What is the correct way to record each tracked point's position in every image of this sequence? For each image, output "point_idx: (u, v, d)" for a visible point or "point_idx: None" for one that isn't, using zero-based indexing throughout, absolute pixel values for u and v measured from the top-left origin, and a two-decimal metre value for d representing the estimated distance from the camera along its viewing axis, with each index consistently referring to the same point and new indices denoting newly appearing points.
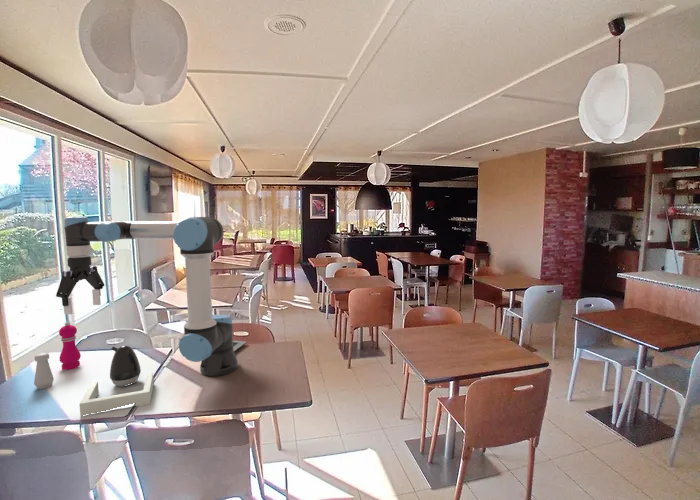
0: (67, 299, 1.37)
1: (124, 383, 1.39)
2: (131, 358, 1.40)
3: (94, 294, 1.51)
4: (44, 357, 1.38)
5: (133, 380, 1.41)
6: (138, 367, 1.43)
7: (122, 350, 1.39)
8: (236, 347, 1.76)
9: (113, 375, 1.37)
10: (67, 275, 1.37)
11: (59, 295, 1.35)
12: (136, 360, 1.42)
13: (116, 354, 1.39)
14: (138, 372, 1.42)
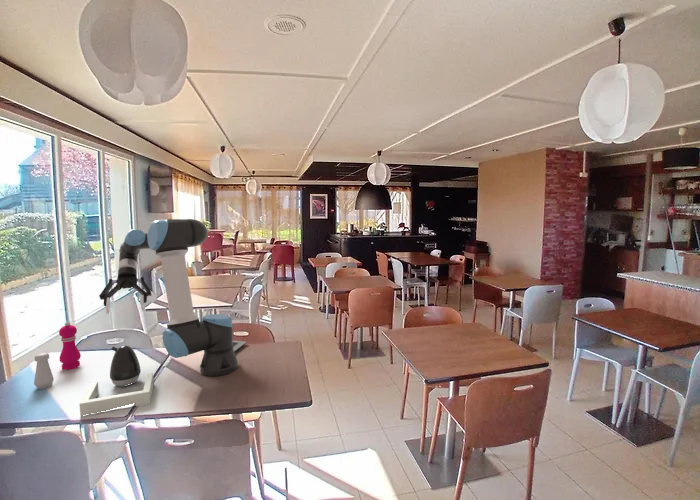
0: (106, 299, 1.59)
1: (124, 383, 1.39)
2: (131, 358, 1.40)
3: None
4: (44, 357, 1.38)
5: (133, 380, 1.41)
6: (138, 367, 1.43)
7: (122, 350, 1.39)
8: (236, 347, 1.76)
9: (113, 375, 1.37)
10: (109, 282, 1.64)
11: None
12: (136, 360, 1.42)
13: (116, 354, 1.39)
14: (138, 372, 1.42)
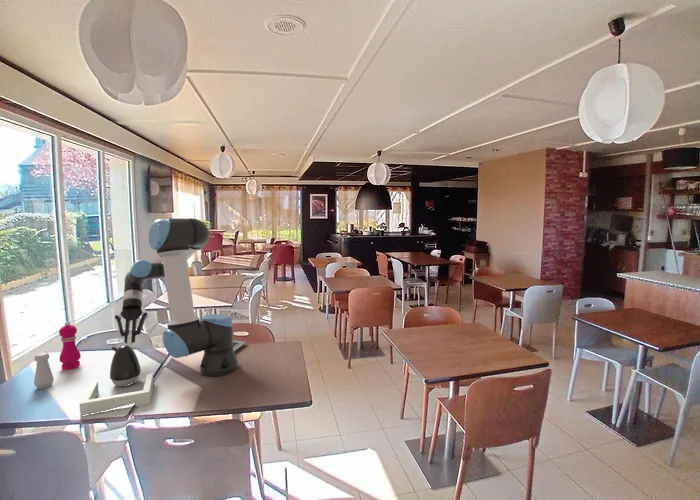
0: (127, 336, 1.57)
1: (124, 383, 1.39)
2: (131, 358, 1.40)
3: None
4: (44, 357, 1.38)
5: (133, 380, 1.41)
6: (138, 367, 1.43)
7: (122, 350, 1.39)
8: (236, 347, 1.76)
9: (113, 375, 1.37)
10: (116, 318, 1.61)
11: None
12: (136, 360, 1.42)
13: (116, 354, 1.39)
14: (138, 372, 1.42)
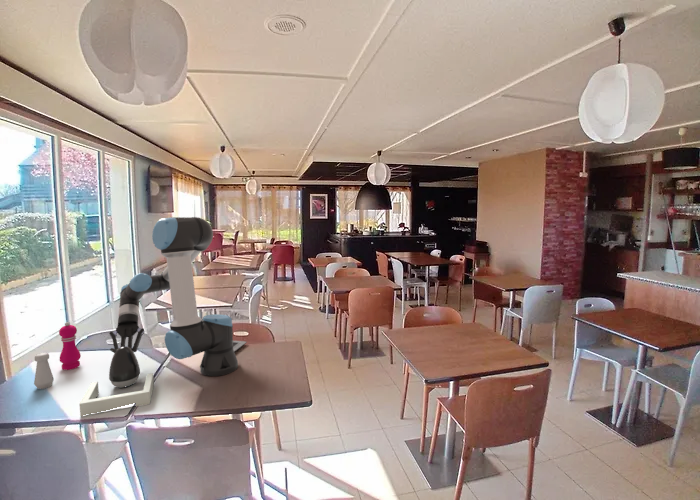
0: None
1: (124, 384, 1.38)
2: (131, 359, 1.39)
3: None
4: (44, 357, 1.38)
5: (133, 381, 1.40)
6: (138, 368, 1.42)
7: (122, 351, 1.38)
8: (236, 347, 1.76)
9: (113, 376, 1.36)
10: (111, 335, 1.52)
11: None
12: (136, 361, 1.41)
13: (116, 355, 1.37)
14: (138, 373, 1.42)
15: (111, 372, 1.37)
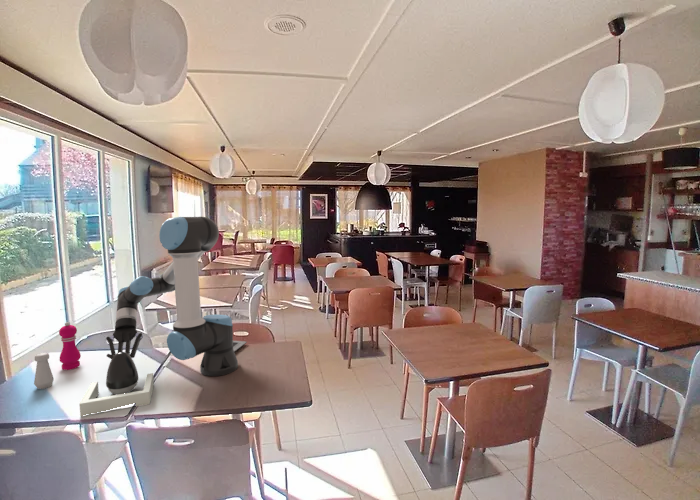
0: None
1: (123, 391, 1.32)
2: (130, 365, 1.34)
3: None
4: (44, 357, 1.38)
5: (132, 387, 1.35)
6: (136, 374, 1.37)
7: (120, 357, 1.32)
8: (236, 347, 1.76)
9: (111, 384, 1.31)
10: (108, 340, 1.46)
11: None
12: (134, 367, 1.36)
13: (113, 362, 1.32)
14: (137, 379, 1.36)
15: (109, 379, 1.31)
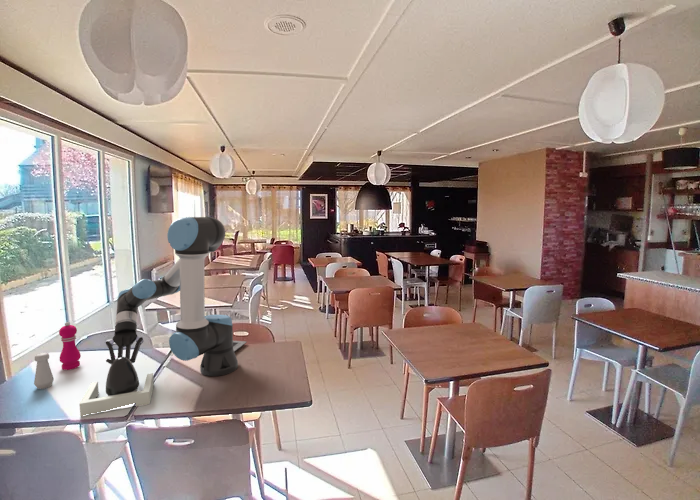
0: None
1: None
2: (130, 370, 1.29)
3: None
4: (44, 357, 1.38)
5: None
6: (137, 379, 1.32)
7: (120, 362, 1.28)
8: (236, 347, 1.76)
9: (111, 390, 1.26)
10: (107, 345, 1.41)
11: None
12: (135, 372, 1.32)
13: (113, 367, 1.27)
14: (137, 385, 1.32)
15: (108, 385, 1.26)
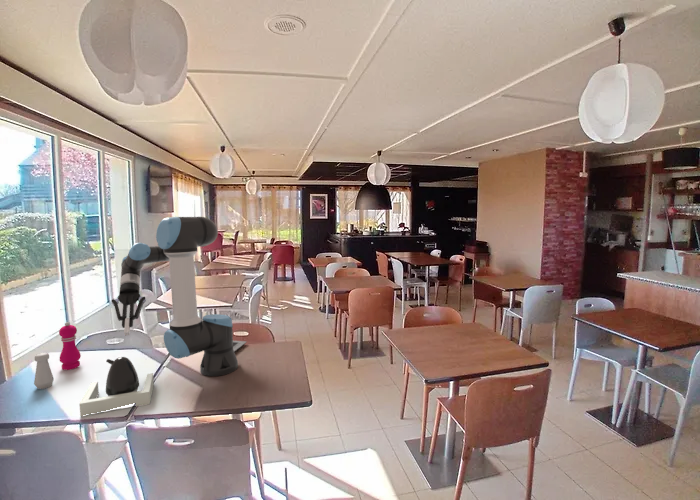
0: (124, 320, 1.52)
1: None
2: (130, 370, 1.30)
3: None
4: (44, 357, 1.38)
5: None
6: (137, 379, 1.32)
7: (120, 362, 1.28)
8: (236, 347, 1.76)
9: (111, 390, 1.26)
10: (113, 302, 1.55)
11: None
12: (135, 372, 1.32)
13: (113, 367, 1.27)
14: (137, 385, 1.32)
15: (108, 385, 1.27)
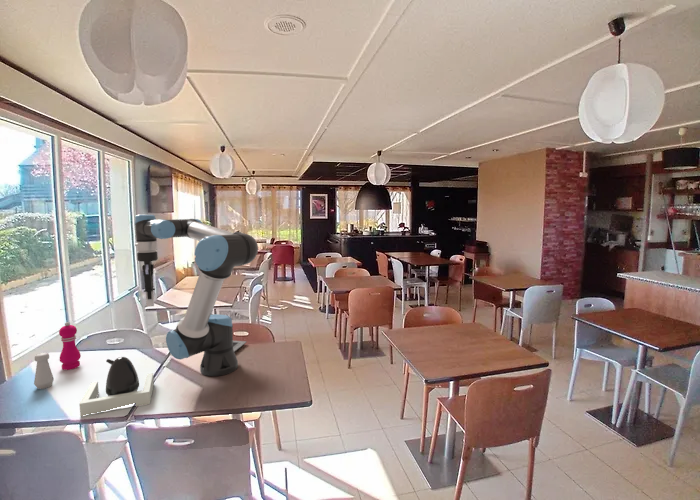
0: (151, 293, 1.55)
1: None
2: (130, 370, 1.30)
3: None
4: (44, 357, 1.38)
5: None
6: (137, 379, 1.32)
7: (120, 362, 1.28)
8: (236, 347, 1.76)
9: (111, 390, 1.26)
10: (149, 273, 1.50)
11: (149, 290, 1.53)
12: (135, 372, 1.32)
13: (113, 367, 1.27)
14: (137, 385, 1.32)
15: (108, 385, 1.27)
